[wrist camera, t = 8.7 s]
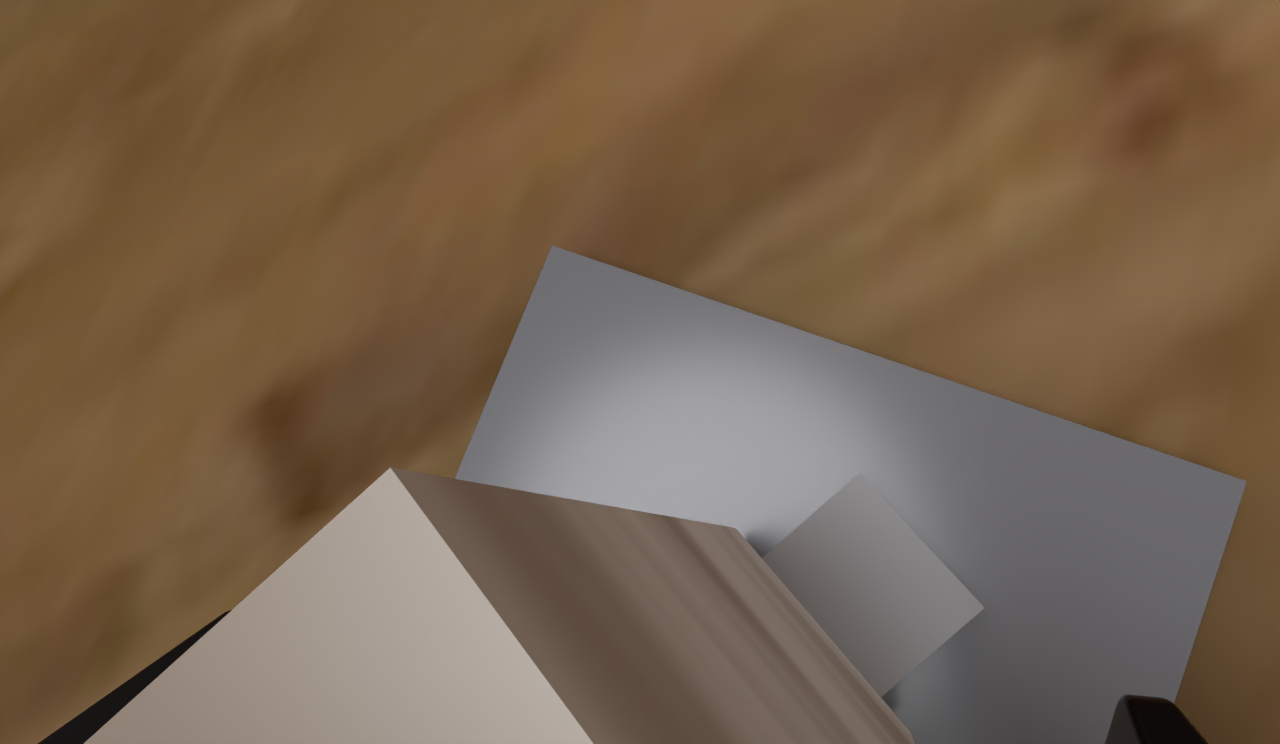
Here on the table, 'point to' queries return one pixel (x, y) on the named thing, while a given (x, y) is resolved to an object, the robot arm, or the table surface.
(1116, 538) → the slate plate
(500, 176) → the table surface
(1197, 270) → the table surface
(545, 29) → the table surface
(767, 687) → the upright block on base
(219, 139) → the table surface
